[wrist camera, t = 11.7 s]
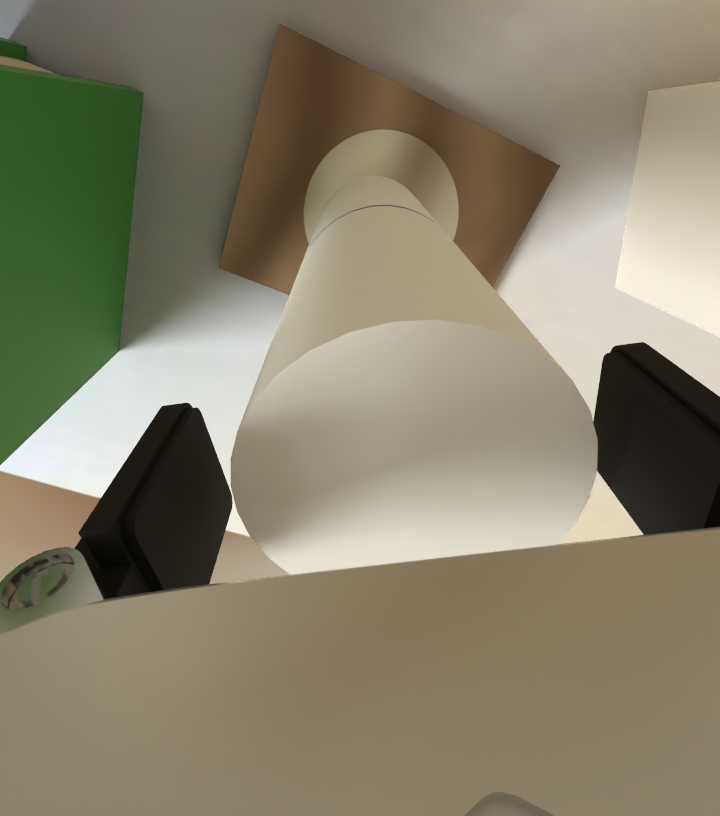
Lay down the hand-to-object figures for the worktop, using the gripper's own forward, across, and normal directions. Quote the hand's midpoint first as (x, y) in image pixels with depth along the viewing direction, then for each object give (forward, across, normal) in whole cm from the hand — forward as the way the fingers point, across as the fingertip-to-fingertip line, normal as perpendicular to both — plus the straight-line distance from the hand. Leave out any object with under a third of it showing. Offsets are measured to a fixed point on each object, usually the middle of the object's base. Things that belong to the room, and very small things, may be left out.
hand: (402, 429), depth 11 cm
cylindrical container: (+23, 0, 0) cm, 23 cm away
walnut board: (+24, -1, -1) cm, 24 cm away
